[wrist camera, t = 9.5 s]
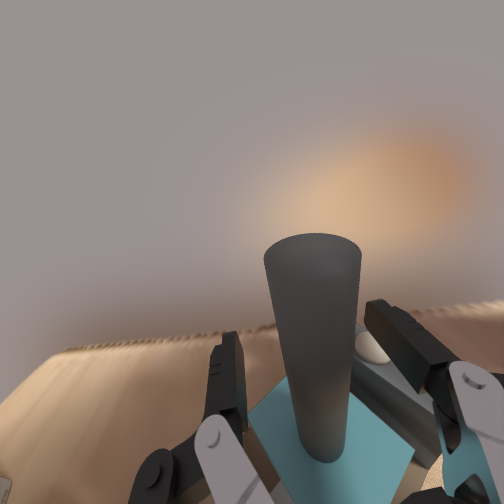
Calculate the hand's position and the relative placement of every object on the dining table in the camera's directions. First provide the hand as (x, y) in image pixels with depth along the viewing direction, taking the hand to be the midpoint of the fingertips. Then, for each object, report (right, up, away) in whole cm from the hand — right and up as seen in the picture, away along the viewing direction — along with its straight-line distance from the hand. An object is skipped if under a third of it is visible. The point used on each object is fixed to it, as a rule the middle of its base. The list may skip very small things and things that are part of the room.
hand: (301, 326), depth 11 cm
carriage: (+2, -10, +3) cm, 11 cm away
